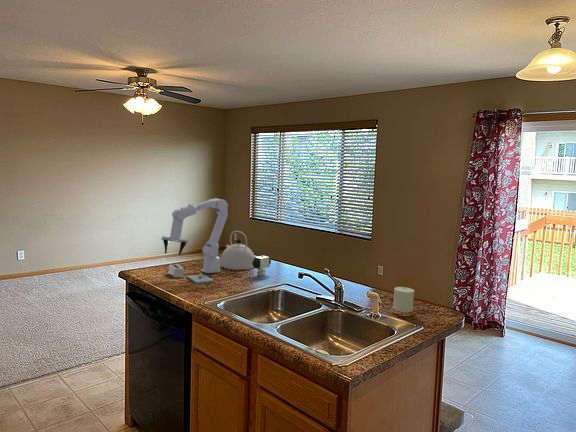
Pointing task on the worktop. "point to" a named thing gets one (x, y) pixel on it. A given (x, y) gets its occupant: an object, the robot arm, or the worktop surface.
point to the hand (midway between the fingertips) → (172, 254)
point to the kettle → (237, 256)
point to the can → (403, 299)
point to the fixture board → (200, 279)
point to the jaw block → (176, 270)
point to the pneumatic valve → (261, 264)
